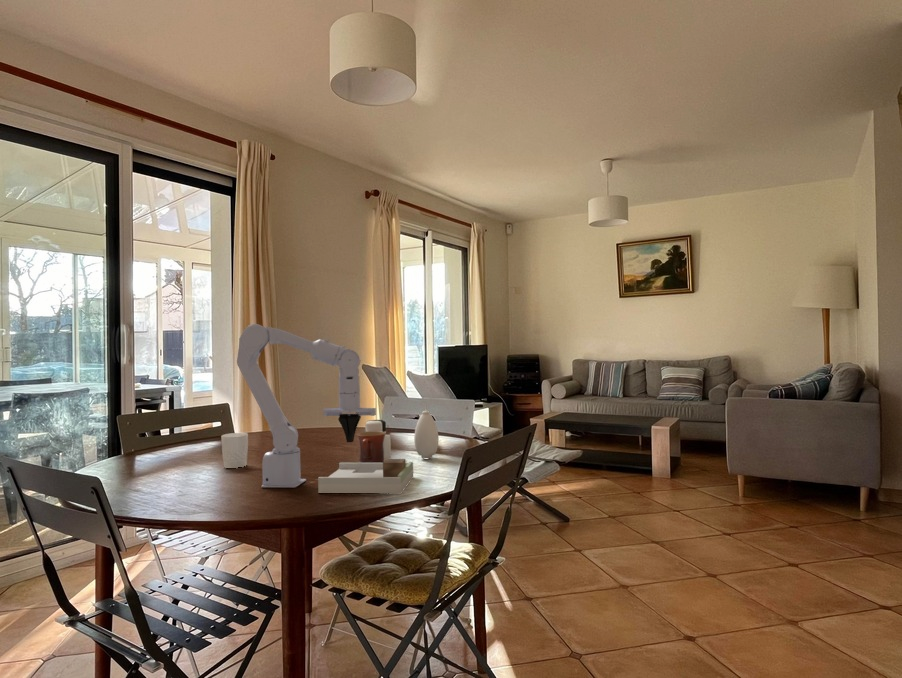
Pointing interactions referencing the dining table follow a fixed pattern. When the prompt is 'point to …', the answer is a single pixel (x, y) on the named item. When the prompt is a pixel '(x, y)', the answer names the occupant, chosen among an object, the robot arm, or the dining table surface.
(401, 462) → the block
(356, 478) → the tray
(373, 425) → the container
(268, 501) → the dining table surface
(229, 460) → the white cup
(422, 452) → the sauce bottle
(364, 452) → the mug
